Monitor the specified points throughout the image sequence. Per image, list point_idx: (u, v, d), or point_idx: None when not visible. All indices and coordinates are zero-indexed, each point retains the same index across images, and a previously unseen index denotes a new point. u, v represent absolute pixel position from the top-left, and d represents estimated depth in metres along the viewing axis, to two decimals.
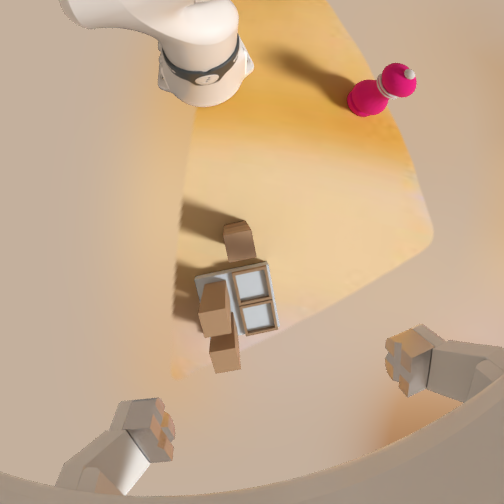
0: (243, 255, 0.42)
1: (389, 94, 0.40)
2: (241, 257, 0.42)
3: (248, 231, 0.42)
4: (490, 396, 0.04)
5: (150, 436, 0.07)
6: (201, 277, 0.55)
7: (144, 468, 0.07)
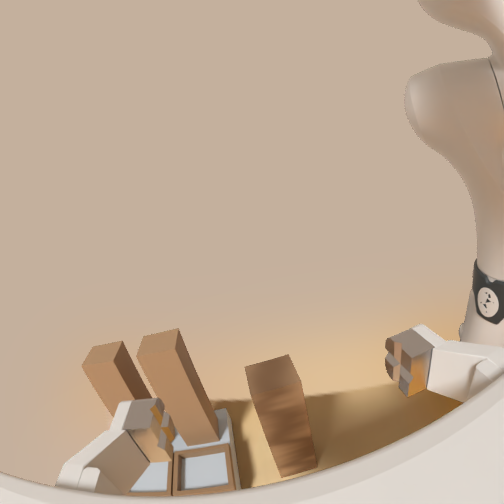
0: (255, 380, 0.23)
1: None
2: (252, 378, 0.23)
3: (297, 378, 0.21)
4: (490, 396, 0.04)
5: (150, 436, 0.07)
6: (228, 417, 0.33)
7: (144, 468, 0.07)
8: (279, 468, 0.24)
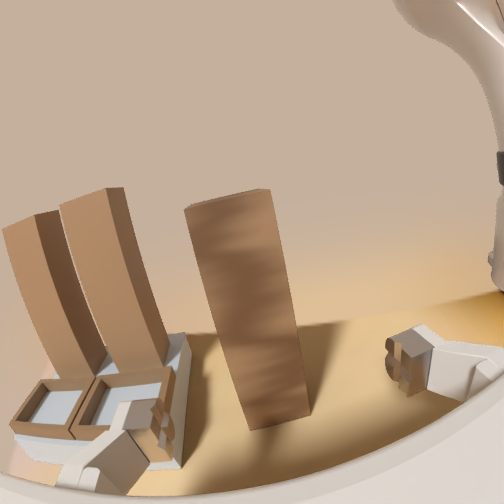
0: (199, 204, 0.15)
1: None
2: (195, 204, 0.15)
3: (265, 190, 0.14)
4: (490, 396, 0.04)
5: (150, 436, 0.07)
6: (185, 344, 0.26)
7: (144, 468, 0.07)
8: (244, 407, 0.16)
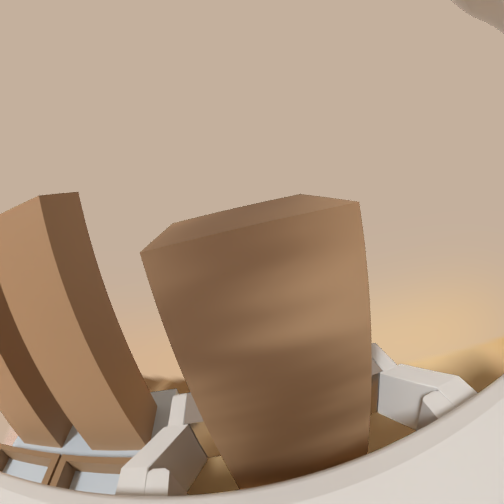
0: (183, 229, 0.07)
1: None
2: (177, 228, 0.07)
3: (342, 201, 0.06)
4: (490, 396, 0.04)
5: None
6: None
7: (202, 464, 0.07)
8: None
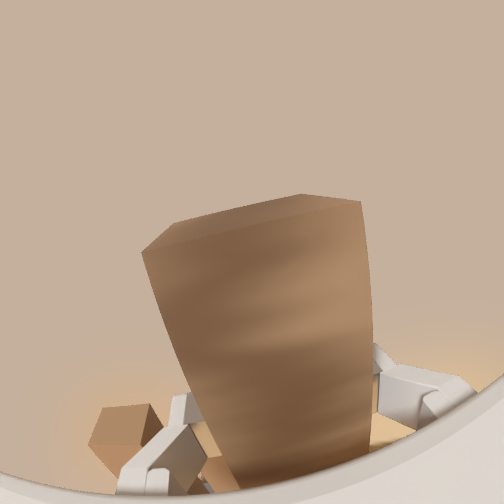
0: (184, 229, 0.07)
1: None
2: (178, 228, 0.07)
3: (344, 201, 0.06)
4: (490, 396, 0.04)
5: None
6: None
7: (202, 464, 0.07)
8: None
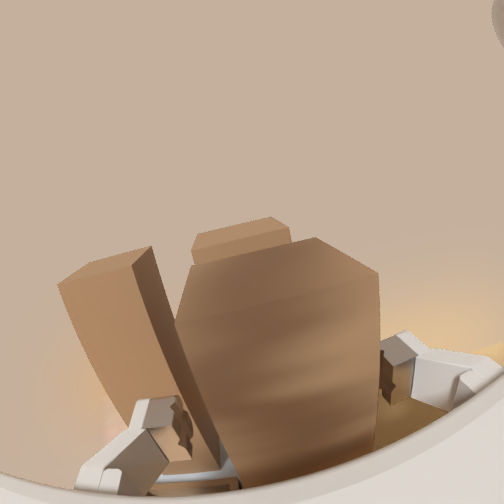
0: (208, 285, 0.07)
1: None
2: (200, 281, 0.07)
3: (362, 269, 0.06)
4: (490, 396, 0.04)
5: (171, 434, 0.07)
6: None
7: (163, 467, 0.07)
8: None
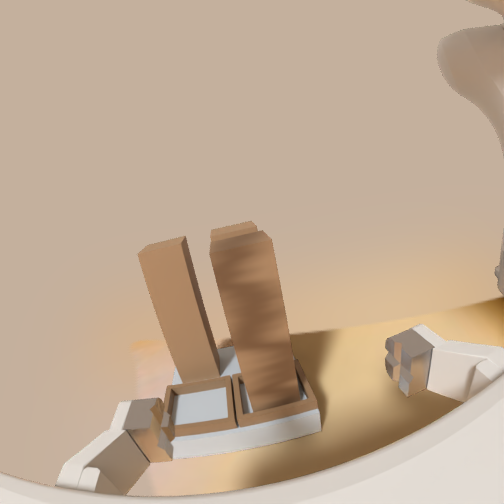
0: (218, 245, 0.20)
1: None
2: (215, 245, 0.21)
3: (268, 238, 0.19)
4: (490, 396, 0.04)
5: (150, 436, 0.07)
6: None
7: (144, 468, 0.07)
8: (250, 396, 0.21)
